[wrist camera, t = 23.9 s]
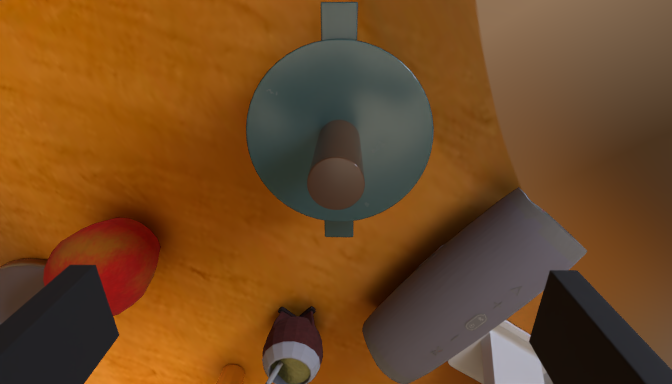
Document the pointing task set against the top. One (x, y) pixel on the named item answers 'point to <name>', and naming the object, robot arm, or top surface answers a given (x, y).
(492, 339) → the phone holder
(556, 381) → the robot arm
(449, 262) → the bluetooth speaker
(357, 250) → the top surface
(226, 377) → the milkshake
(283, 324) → the mate gourd
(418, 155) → the lid
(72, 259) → the apple
